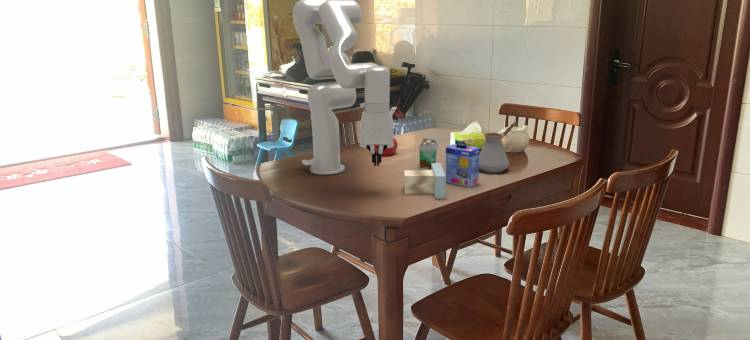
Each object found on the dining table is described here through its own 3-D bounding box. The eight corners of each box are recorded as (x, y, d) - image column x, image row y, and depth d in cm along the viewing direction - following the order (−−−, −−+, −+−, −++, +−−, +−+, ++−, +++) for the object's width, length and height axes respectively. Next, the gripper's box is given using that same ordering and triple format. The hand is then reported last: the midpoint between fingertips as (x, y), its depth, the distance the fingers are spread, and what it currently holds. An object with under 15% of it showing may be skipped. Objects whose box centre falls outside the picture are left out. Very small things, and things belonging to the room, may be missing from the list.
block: (405, 194, 180) (404, 176, 179) (404, 188, 187) (403, 170, 185) (434, 194, 180) (434, 175, 178) (432, 187, 187) (432, 169, 185)
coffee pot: (498, 176, 197) (499, 133, 193) (469, 171, 204) (470, 129, 200) (528, 164, 212) (530, 123, 208) (500, 159, 219) (502, 120, 216)
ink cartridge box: (444, 182, 191) (444, 139, 187) (453, 179, 195) (453, 136, 191) (470, 187, 185) (471, 143, 181) (479, 183, 189) (480, 140, 185)
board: (435, 198, 175) (435, 176, 173) (431, 183, 190) (431, 163, 189) (445, 198, 175) (445, 176, 173) (440, 183, 190) (440, 162, 188)
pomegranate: (398, 151, 236) (398, 129, 234) (396, 157, 227) (396, 134, 224) (374, 151, 237) (374, 128, 235) (371, 156, 228) (371, 133, 225)
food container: (436, 173, 202) (436, 145, 200) (419, 173, 203) (419, 145, 201) (440, 164, 214) (440, 138, 211) (423, 164, 215) (423, 137, 212)
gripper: (351, 109, 173) (352, 168, 178) (401, 110, 173) (400, 168, 178) (353, 104, 180) (353, 161, 185) (401, 105, 180) (400, 161, 185)
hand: (376, 164), depth 182 cm, fingers closed
